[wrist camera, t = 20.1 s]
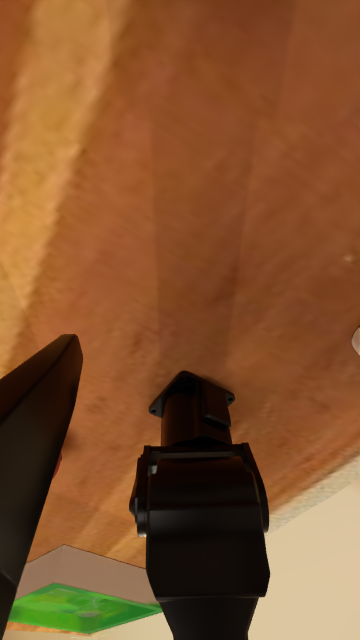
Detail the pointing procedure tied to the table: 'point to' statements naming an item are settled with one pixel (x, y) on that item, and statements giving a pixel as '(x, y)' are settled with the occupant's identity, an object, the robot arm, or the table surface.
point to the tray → (82, 592)
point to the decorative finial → (356, 341)
